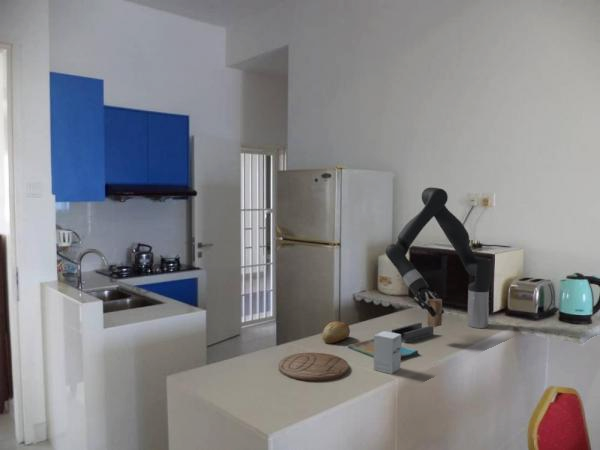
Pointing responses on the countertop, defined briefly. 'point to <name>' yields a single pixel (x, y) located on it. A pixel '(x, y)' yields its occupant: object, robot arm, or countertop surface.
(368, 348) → the dish towel
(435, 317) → the tan wooden pillar block
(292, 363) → the trivet
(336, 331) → the bread roll
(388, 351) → the supplement box
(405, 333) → the floor track
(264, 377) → the countertop surface
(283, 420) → the countertop surface
